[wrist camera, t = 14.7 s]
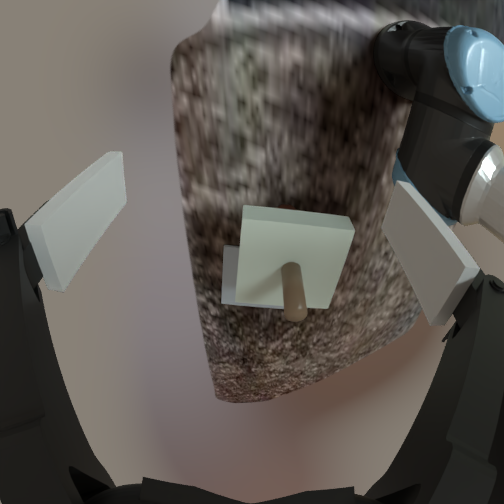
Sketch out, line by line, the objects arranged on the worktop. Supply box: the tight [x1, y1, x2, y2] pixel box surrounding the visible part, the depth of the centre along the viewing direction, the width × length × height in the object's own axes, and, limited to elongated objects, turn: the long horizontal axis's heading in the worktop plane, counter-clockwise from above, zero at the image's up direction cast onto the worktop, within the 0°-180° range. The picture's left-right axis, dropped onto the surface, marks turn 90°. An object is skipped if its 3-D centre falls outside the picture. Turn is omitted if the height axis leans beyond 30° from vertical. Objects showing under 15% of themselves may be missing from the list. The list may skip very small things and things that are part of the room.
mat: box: [221, 245, 284, 309], centre depth 68 cm, size 17×17×1 cm
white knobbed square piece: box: [235, 205, 355, 322], centre depth 44 cm, size 16×16×13 cm
